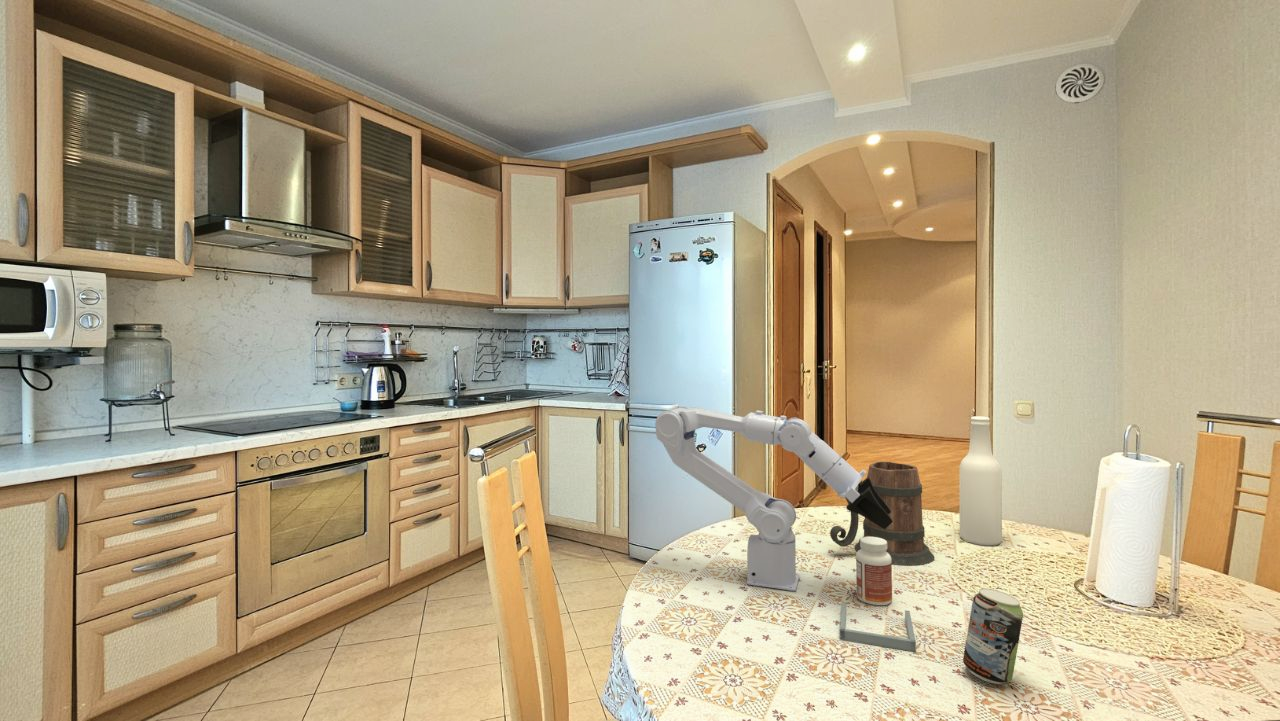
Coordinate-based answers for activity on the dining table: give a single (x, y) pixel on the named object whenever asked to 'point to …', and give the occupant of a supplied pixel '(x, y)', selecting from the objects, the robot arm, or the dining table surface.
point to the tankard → (894, 515)
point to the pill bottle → (874, 571)
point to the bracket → (878, 635)
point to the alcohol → (980, 489)
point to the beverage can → (993, 636)
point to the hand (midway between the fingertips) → (888, 520)
